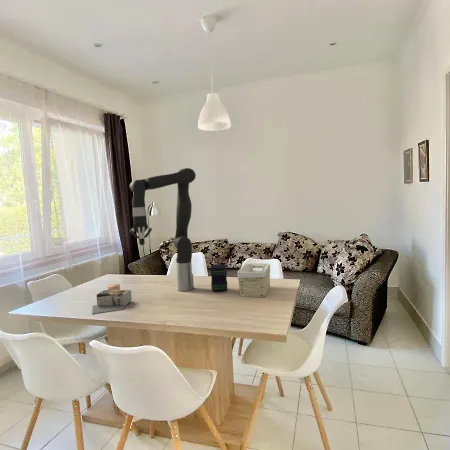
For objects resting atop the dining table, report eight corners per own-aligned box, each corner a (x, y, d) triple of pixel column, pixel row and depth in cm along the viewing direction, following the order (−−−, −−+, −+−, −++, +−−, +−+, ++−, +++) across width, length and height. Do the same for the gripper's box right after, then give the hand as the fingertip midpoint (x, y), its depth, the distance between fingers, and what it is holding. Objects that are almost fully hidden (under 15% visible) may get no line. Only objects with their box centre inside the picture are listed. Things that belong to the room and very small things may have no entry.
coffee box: (124, 294, 176) (96, 294, 177) (125, 305, 176) (97, 306, 178) (131, 289, 185) (103, 289, 186) (131, 300, 185) (104, 300, 187)
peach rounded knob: (120, 294, 200) (119, 283, 199) (121, 297, 193) (120, 286, 193) (108, 296, 197) (107, 285, 197) (108, 299, 191) (107, 287, 190)
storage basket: (265, 298, 179) (264, 271, 178) (237, 297, 184) (235, 271, 182) (271, 286, 202) (270, 263, 201) (246, 286, 207) (245, 262, 205)
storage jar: (228, 287, 204) (227, 264, 202) (226, 292, 194) (225, 267, 193) (212, 288, 205) (211, 264, 203) (210, 292, 195) (209, 268, 194)
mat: (123, 301, 185) (123, 301, 185) (125, 309, 172) (125, 308, 172) (92, 306, 179) (92, 305, 179) (92, 314, 166) (92, 313, 166)
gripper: (150, 214, 193) (152, 243, 194) (127, 215, 188) (129, 245, 189) (152, 214, 186) (154, 244, 188) (128, 216, 181) (131, 247, 183)
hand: (142, 245), depth 189 cm, fingers closed
